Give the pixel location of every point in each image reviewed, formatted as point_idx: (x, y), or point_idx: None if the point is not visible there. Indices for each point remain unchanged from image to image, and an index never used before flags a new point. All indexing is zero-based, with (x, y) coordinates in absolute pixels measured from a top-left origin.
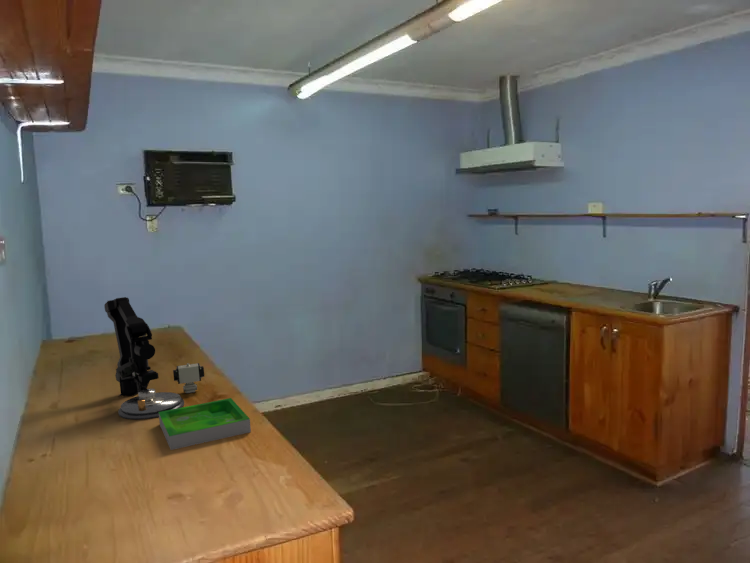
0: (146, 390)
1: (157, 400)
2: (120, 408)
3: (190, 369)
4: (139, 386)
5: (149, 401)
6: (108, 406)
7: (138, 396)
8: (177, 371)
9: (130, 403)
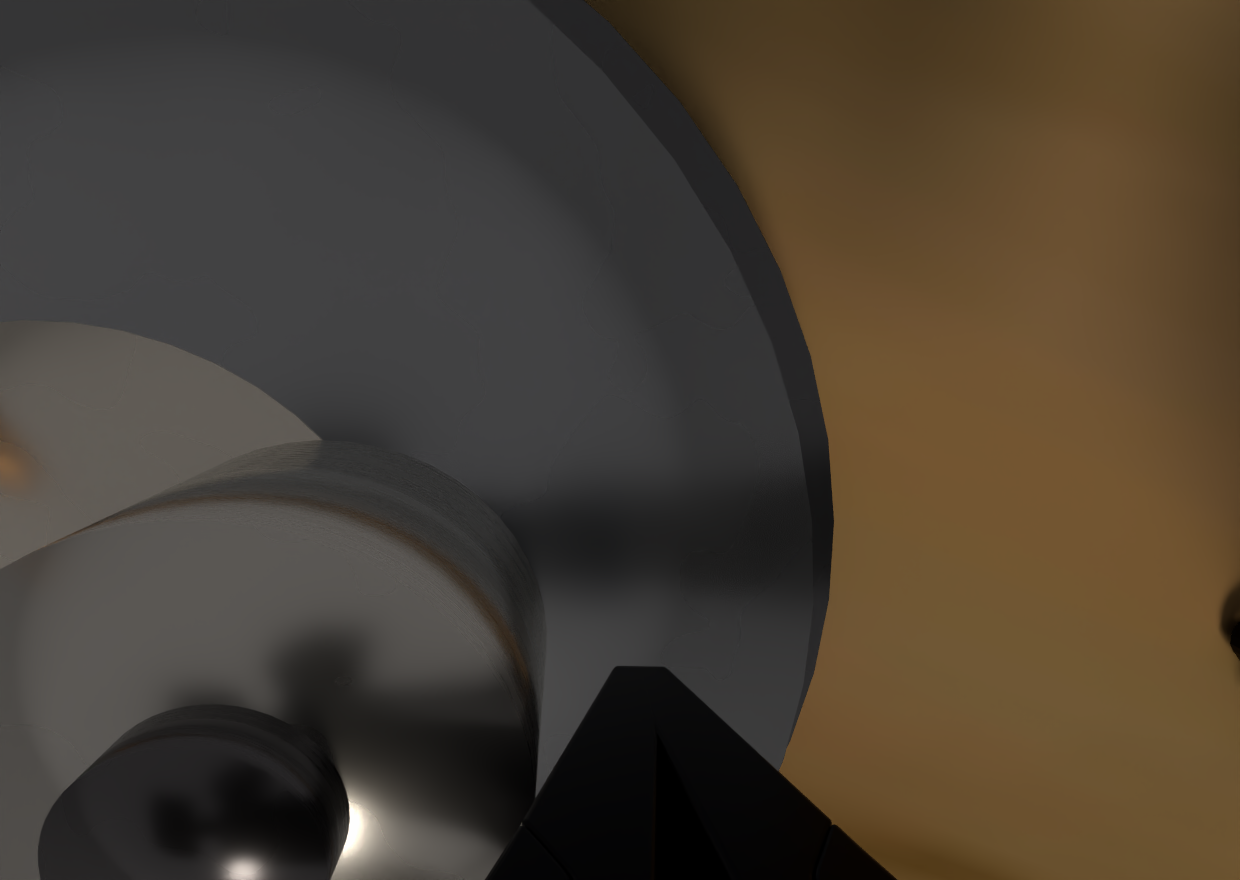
0: (51, 827)
1: None
2: (568, 16)
3: None
4: (694, 824)
5: None
6: (1129, 8)
7: (778, 586)
8: None
9: (358, 195)
